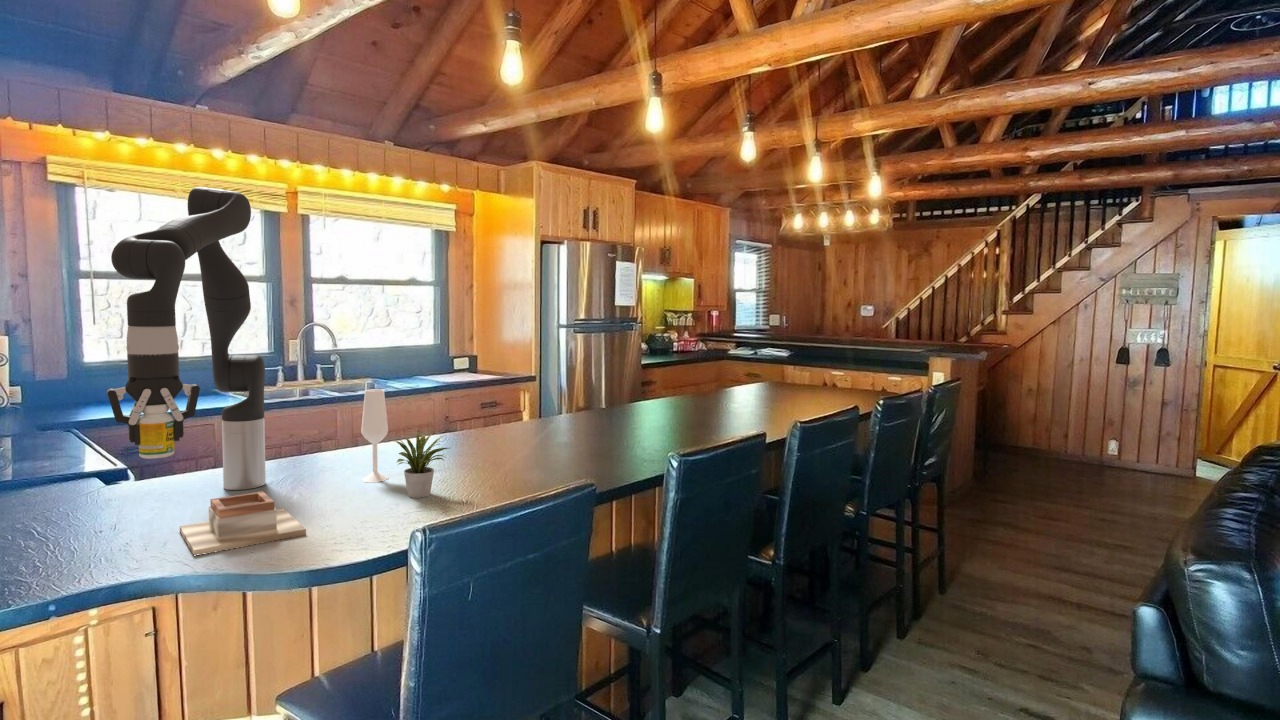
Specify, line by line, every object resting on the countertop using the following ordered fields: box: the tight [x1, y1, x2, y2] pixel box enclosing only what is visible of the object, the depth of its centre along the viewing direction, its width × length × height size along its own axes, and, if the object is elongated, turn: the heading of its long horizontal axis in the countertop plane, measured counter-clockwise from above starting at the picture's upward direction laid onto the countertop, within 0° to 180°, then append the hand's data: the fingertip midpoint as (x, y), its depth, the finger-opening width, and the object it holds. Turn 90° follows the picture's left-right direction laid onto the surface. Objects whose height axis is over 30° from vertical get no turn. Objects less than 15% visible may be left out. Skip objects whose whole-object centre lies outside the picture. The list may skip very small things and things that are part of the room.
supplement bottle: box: [137, 404, 176, 460], centre depth 121 cm, size 5×5×10 cm
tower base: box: [179, 490, 307, 555], centre depth 133 cm, size 17×19×7 cm
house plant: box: [394, 429, 451, 499], centre depth 161 cm, size 14×14×16 cm
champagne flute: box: [360, 388, 389, 483], centre depth 176 cm, size 7×7×24 cm
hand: (156, 442), depth 121 cm, fingers closed on supplement bottle, 5 cm apart
